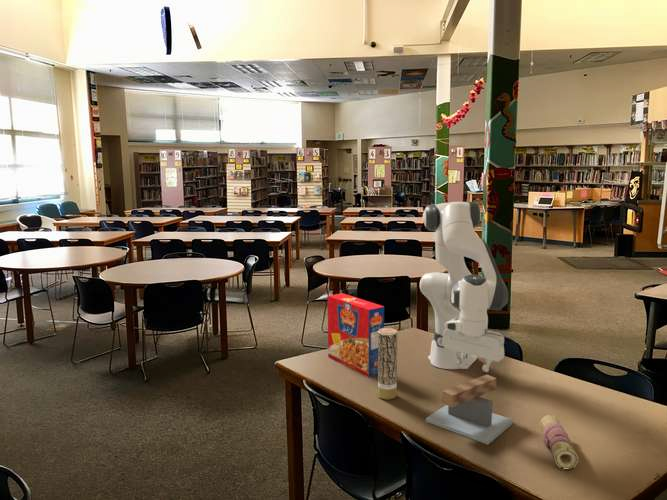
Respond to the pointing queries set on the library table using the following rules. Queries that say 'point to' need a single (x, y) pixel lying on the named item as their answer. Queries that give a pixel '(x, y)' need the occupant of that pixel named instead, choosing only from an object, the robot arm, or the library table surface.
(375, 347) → the pasta box
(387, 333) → the bark cylinder
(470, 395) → the light brown wooden bar
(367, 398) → the library table surface
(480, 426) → the ridge stand
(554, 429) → the scroll
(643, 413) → the library table surface
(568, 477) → the library table surface
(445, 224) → the robot arm
